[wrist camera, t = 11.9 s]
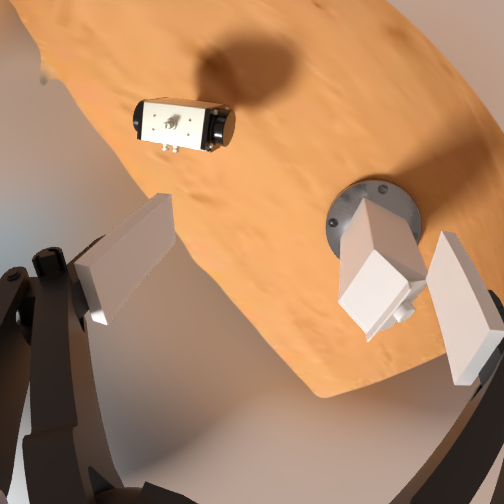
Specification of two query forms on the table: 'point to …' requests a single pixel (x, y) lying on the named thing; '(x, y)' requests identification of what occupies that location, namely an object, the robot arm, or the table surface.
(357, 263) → the milk carton
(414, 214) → the duct flange
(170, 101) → the pneumatic valve
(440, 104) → the table surface
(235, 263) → the table surface
